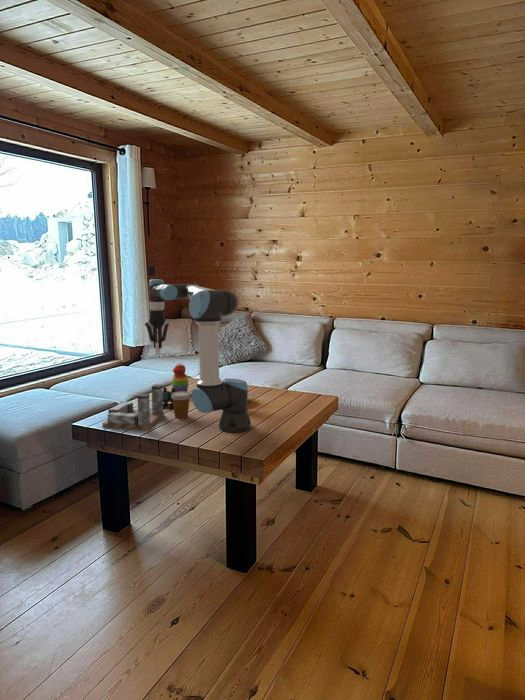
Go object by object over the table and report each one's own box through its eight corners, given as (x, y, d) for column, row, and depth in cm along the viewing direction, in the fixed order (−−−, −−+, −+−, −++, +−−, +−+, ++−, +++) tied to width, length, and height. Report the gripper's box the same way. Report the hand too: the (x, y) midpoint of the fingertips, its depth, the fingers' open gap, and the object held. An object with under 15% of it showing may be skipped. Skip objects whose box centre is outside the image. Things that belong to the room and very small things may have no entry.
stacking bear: (171, 391, 288) (170, 362, 285) (188, 391, 290) (187, 362, 286) (171, 396, 277) (170, 366, 274) (188, 396, 279) (188, 366, 276)
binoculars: (156, 392, 250) (162, 385, 260) (157, 411, 253) (163, 404, 263) (173, 393, 249) (178, 386, 259) (174, 412, 252) (179, 404, 262)
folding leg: (129, 403, 243) (116, 410, 229) (129, 411, 244) (116, 418, 230) (121, 402, 244) (108, 409, 230) (121, 410, 244) (108, 418, 230)
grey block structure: (164, 415, 244) (163, 384, 241) (147, 430, 223) (146, 396, 220) (122, 412, 247) (120, 382, 244) (101, 427, 226) (99, 393, 223)
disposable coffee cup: (194, 416, 243) (194, 393, 241) (178, 421, 236) (178, 397, 234) (183, 412, 250) (183, 390, 247) (167, 416, 243) (167, 393, 241)
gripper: (171, 309, 252) (172, 353, 257) (147, 308, 254) (149, 352, 259) (166, 310, 245) (167, 356, 249) (142, 309, 247) (143, 355, 251)
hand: (158, 354), depth 254 cm, fingers closed
